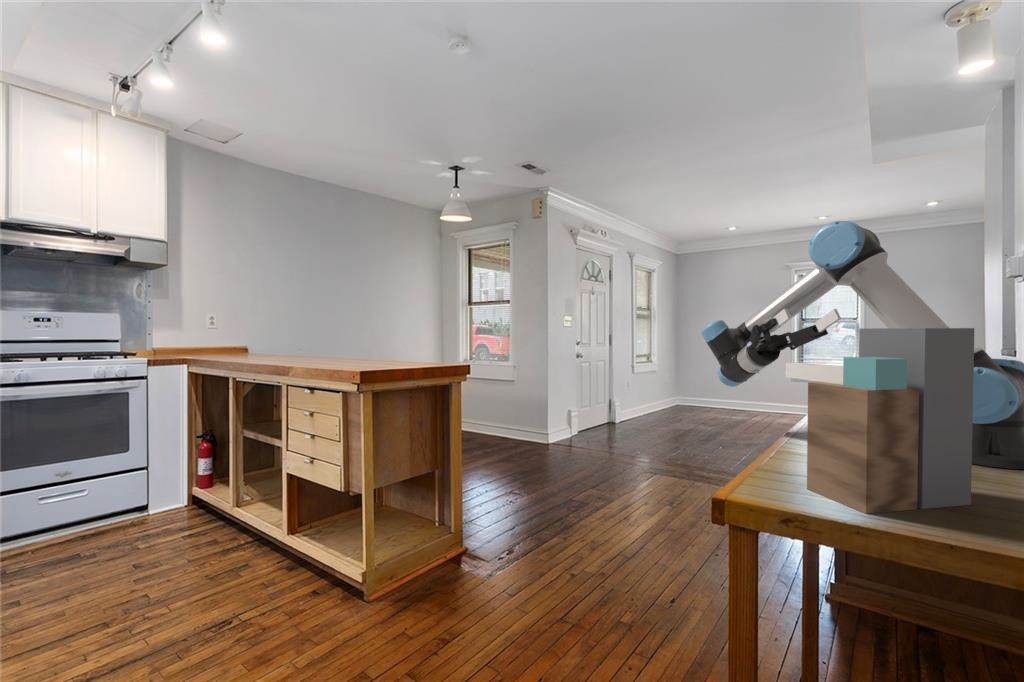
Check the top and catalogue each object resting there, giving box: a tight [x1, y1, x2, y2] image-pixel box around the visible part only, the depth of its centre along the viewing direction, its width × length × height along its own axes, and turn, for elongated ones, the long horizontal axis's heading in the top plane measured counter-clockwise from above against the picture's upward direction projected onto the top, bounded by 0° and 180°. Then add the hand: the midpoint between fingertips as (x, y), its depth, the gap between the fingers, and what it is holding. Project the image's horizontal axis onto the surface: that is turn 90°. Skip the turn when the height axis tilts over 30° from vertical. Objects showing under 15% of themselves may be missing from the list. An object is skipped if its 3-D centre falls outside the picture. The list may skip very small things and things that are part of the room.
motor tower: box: [858, 327, 975, 510], centre depth 84 cm, size 10×12×30 cm
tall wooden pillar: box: [806, 381, 919, 514], centre depth 83 cm, size 10×12×20 cm
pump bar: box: [785, 356, 907, 390], centre depth 87 cm, size 6×21×5 cm, turn 10°
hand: (813, 313), depth 111 cm, fingers open, 13 cm apart
